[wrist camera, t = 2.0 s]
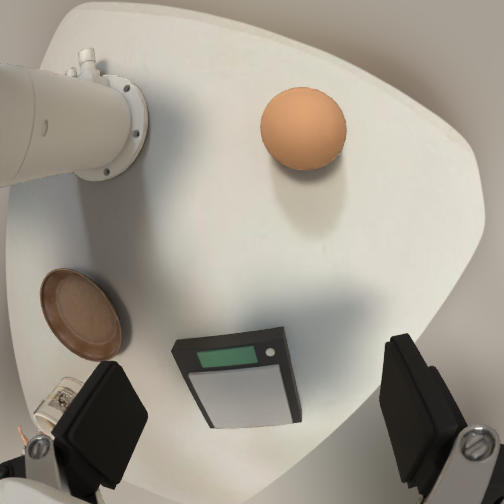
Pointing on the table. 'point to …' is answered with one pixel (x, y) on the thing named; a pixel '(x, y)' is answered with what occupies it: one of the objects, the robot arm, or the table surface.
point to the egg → (303, 128)
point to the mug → (56, 404)
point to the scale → (241, 378)
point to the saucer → (80, 315)
